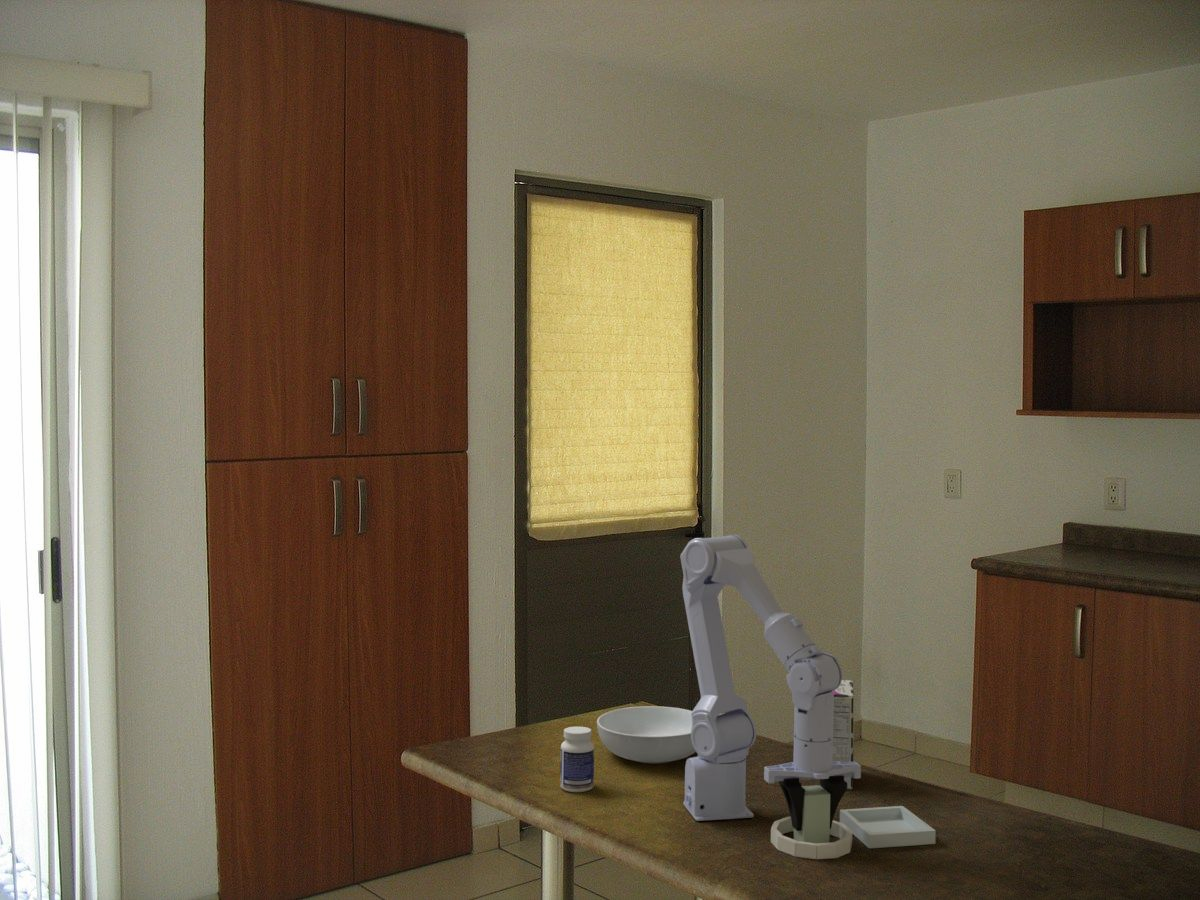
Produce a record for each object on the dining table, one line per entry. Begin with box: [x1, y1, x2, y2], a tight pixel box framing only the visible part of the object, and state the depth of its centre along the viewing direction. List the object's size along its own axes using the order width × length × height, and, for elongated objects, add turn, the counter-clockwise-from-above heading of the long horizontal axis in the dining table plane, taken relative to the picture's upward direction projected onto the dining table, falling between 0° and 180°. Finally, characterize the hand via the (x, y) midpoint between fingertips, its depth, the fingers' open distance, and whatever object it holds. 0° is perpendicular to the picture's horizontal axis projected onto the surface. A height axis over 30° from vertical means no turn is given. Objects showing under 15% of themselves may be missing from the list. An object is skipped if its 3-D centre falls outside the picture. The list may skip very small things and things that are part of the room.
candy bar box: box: [832, 679, 855, 790], centre depth 195 cm, size 11×5×16 cm, turn 168°
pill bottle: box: [559, 726, 595, 793], centre depth 189 cm, size 6×6×10 cm
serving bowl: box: [596, 705, 697, 765], centre depth 207 cm, size 21×21×7 cm
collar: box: [770, 816, 853, 860], centre depth 166 cm, size 12×12×2 cm
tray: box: [839, 805, 937, 849], centre depth 170 cm, size 11×11×2 cm
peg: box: [793, 784, 831, 843], centre depth 166 cm, size 4×4×8 cm
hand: (811, 827), depth 166 cm, fingers open, 4 cm apart
